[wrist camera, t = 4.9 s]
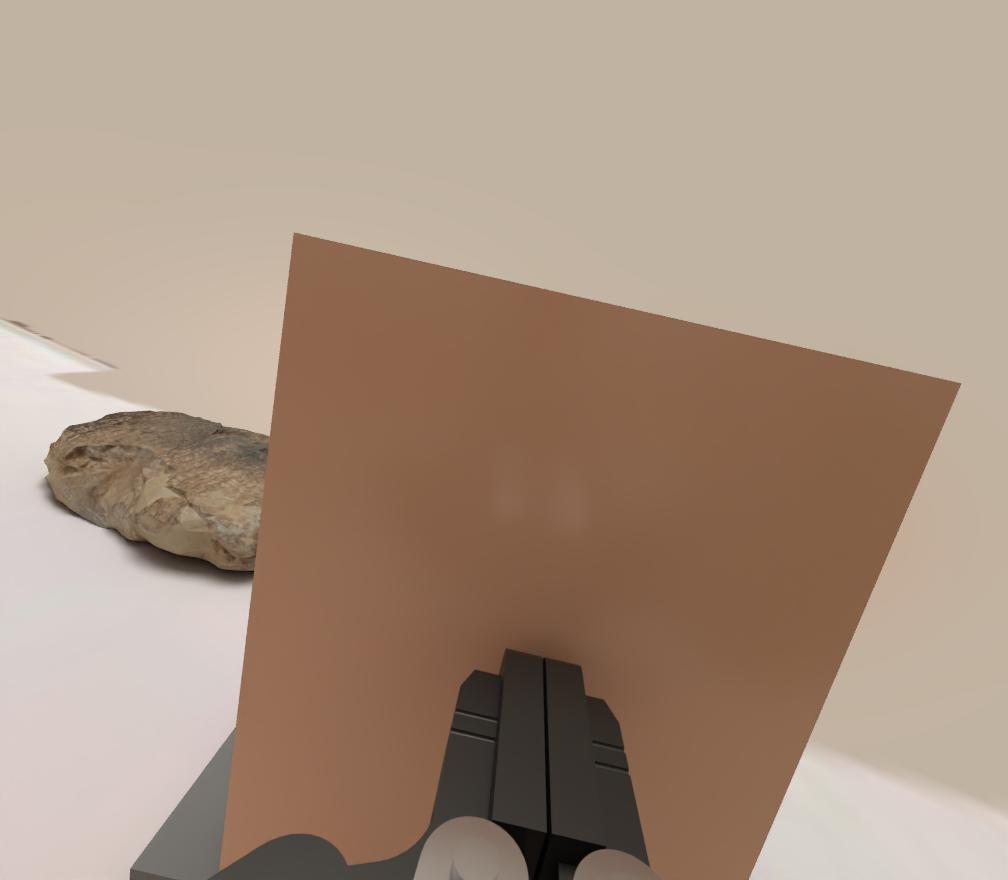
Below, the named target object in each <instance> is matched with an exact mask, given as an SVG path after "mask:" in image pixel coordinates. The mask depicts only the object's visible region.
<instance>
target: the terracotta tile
mask: <svg viewBox="0 0 1008 880" xmlns="http://www.w3.org/2000/svg"><path fill="white" fill-rule="evenodd" d="M960 385H961V383H957V382H952V381H948V380H943V379H939V378H934V377H930V376H926V375H921V374H917V373H913V372H908V371H903V370H899V369H894V368H891V367H885V366H882V365H877V364H873V363H868V362H864V361H860V360H855V359H851V358H846V357H842V356H837V355H833V354H828V353H824V352H820V351H815V350H811V349H807V348H802V347H797V346H793V345H789V344H784V343H780V342H776V341H771V340H767V339H762V338H757V337H753V336H749V335H744V334H740V333H736V332H731V331H726V330H722V329H718V328H714V327H709V326H704V325H700V324H695V323H692V322H687V321H683V320H678V319H674V318H669V317H665V316H661V315H656V314H652V313H647V312H643V311H638V310H634V309H630V308H625V307H621V306H616V305H612V304H608V303H603V302H599V301H594V300H590V299H585V298H581V297H576V296H572V295H567V294H563V293H559V292H554V291H549V290H545V289H541V288H537V287H532V286H528V285H523V284H519V283H515V282H510V281H506V280H501V279H497V278H492V277H488V276H484V275H479V274H474V273H470V272H466V271H461V270H457V269H453V268H448V267H443V266H439V265H435V264H430V263H426V262H422V261H417V260H412V259H409V258H404V257H399V256H395V255H391V254H386V253H382V252H378V251H373V250H369V249H364V248H359V247H355V246H351V245H347V244H342V243H338V242H333V241H329V240H324V239H320V238H316V237H311V236H307V235H302V234H298V233H294V235H293V244H292V252H291V261H290V269H289V278H288V286H287V295H286V304H285V312H284V321H283V329H282V338H281V346H280V356H279V364H278V372H277V380H276V389H275V399H274V406H273V415H272V423H271V432H270V440H269V449H268V457H267V466H266V474H265V483H264V491H263V500H262V508H261V517H260V525H259V534H258V543H257V551H256V560H255V568H254V577H253V585H252V594H251V602H250V611H249V619H248V628H247V636H246V645H245V654H244V662H243V671H242V679H241V688H240V696H239V705H238V713H237V722H236V730H235V739H234V747H233V756H232V765H231V773H230V782H229V790H228V799H227V807H226V816H225V824H224V833H223V841H222V850H221V858H220V867H219V872H220V871H221V870H223V869H224V868H226V867H228V866H229V865H231V864H232V863H234V862H235V861H237V860H239V859H240V858H242V857H243V856H245V855H246V854H248V853H250V852H251V851H253V850H254V849H256V848H257V847H259V846H261V845H263V844H264V843H266V842H268V841H270V840H272V839H275V838H278V837H280V836H285V835H289V834H300V833H302V834H312V835H315V836H318V837H321V838H323V839H325V840H327V841H329V842H330V843H331V844H333V845H334V846H335V847H336V848H337V849H338V850H339V851H340V853H341V854H342V855H343V857H344V859H345V861H346V863H347V865H355V864H363V863H370V862H377V861H382V860H387V859H390V858H392V857H395V856H398V855H399V854H401V853H403V852H405V851H406V850H408V849H409V848H410V847H412V846H413V845H414V844H415V843H416V842H417V841H418V840H419V839H420V838H421V837H422V836H423V834H424V833H425V831H426V830H427V829H428V827H429V824H430V820H431V816H432V811H433V806H434V802H435V797H436V792H437V787H438V783H439V778H440V773H441V768H442V764H443V759H444V754H445V750H446V745H447V741H448V737H449V733H450V728H451V724H452V720H453V715H454V711H455V707H456V702H457V698H458V694H459V690H460V686H461V685H462V683H463V682H464V681H465V680H466V679H467V678H468V677H469V676H470V674H471V673H472V672H473V671H474V670H479V671H484V672H488V673H492V674H496V675H499V671H500V667H501V663H502V659H503V655H504V652H505V649H506V648H507V649H512V650H516V651H520V652H525V653H529V654H533V655H537V656H542V659H543V658H544V657H547V658H551V659H555V660H560V661H564V662H568V663H573V664H577V665H580V666H581V668H582V673H583V680H584V687H585V694H586V695H587V696H591V697H596V698H600V699H604V700H605V702H606V703H607V705H608V706H609V708H610V710H611V711H612V713H613V714H614V716H615V717H616V719H617V720H618V722H619V725H620V729H621V734H622V739H623V743H624V753H626V757H627V762H628V767H629V775H630V776H631V781H632V785H633V790H634V795H635V799H636V804H637V809H638V813H639V818H640V823H641V827H642V832H643V837H644V841H645V846H646V851H647V855H648V860H649V864H650V867H651V869H652V870H653V871H654V872H655V873H656V874H657V875H658V876H659V878H660V879H661V880H749V877H750V875H751V873H752V870H753V868H754V866H755V863H756V861H757V859H758V856H759V854H760V852H761V849H762V847H763V845H764V842H765V840H766V838H767V835H768V833H769V831H770V828H771V826H772V824H773V821H774V819H775V817H776V814H777V812H778V810H779V807H780V805H781V803H782V800H783V798H784V796H785V793H786V791H787V789H788V786H789V784H790V782H791V779H792V777H793V775H794V772H795V770H796V768H797V765H798V763H799V761H800V758H801V756H802V754H803V751H804V749H805V747H806V744H807V742H808V740H809V737H810V735H811V733H812V730H813V728H814V725H815V723H816V721H817V719H818V717H819V714H820V712H821V710H822V707H823V705H824V703H825V700H826V698H827V696H828V693H829V691H830V688H831V686H832V684H833V681H834V679H835V677H836V675H837V672H838V670H839V668H840V665H841V663H842V661H843V658H844V656H845V653H846V651H847V649H848V647H849V644H850V641H851V640H852V637H853V635H854V633H855V630H856V628H857V625H858V623H859V621H860V619H861V616H862V614H863V612H864V609H865V607H866V604H867V602H868V600H869V598H870V595H871V593H872V591H873V588H874V586H875V584H876V581H877V579H878V577H879V574H880V572H881V570H882V567H883V565H884V563H885V560H886V558H887V556H888V553H889V551H890V548H891V546H892V544H893V542H894V539H895V537H896V535H897V532H898V530H899V527H900V525H901V523H902V521H903V518H904V516H905V513H906V511H907V509H908V507H909V504H910V502H911V500H912V497H913V495H914V492H915V490H916V488H917V485H918V483H919V481H920V479H921V476H922V474H923V471H924V469H925V467H926V465H927V462H928V460H929V458H930V455H931V453H932V451H933V448H934V446H935V444H936V441H937V439H938V437H939V434H940V432H941V430H942V427H943V425H944V423H945V420H946V418H947V416H948V413H949V411H950V409H951V406H952V404H953V402H954V399H955V397H956V395H957V392H958V390H959V388H960Z"/></svg>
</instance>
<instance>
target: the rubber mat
mask: <svg viewBox="0 0 1008 880" xmlns="http://www.w3.org/2000/svg"><path fill="white" fill-rule="evenodd" d="M235 730H236V727H235V729H234V730H233V732H232V733H231V734H230V736H229V737H228V738H227V740H226V741H225V742H224V744H223V745H222V746H221V748H220V749H219V750H218V752H217V753H216V754H215V756H214V757H213V758H212V760H211V761H210V762H209V764H208V765H207V766H206V768H205V769H204V770H203V772H202V773H201V774H200V776H199V777H198V779H197V780H196V781H195V783H194V784H193V785H192V787H191V788H190V789H189V791H188V792H187V793H186V795H185V796H184V797H183V799H182V800H181V801H180V803H179V804H178V805H177V807H176V808H175V809H174V811H173V812H172V813H171V815H170V816H169V817H168V819H167V820H166V822H165V823H164V824H163V826H162V827H161V828H160V830H159V831H158V832H157V834H156V835H155V836H154V838H153V839H152V840H151V842H150V843H149V844H148V846H147V847H146V848H145V850H144V851H143V852H142V854H141V855H140V856H139V858H138V859H137V860H136V862H135V863H134V864H133V866H132V867H131V869H130V880H207V879H209V878H210V877H212V876H213V875H215V874H217V873H218V872H219V867H220V858H221V850H222V841H223V833H224V824H225V816H226V807H227V799H228V790H229V782H230V773H231V765H232V756H233V747H234V739H235Z"/></svg>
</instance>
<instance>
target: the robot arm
mask: <svg viewBox="0 0 1008 880" xmlns="http://www.w3.org/2000/svg"><path fill="white" fill-rule="evenodd" d="M207 880H661V879H660V878H659V876H658V875H657V874H656V873H655V872H654V871H653V870H652V869H651V867H650V864H649V860H648V855H647V851H646V846H645V841H644V837H643V832H642V827H641V823H640V818H639V813H638V809H637V804H636V799H635V795H634V790H633V785H632V781H631V776H630V775H629V767H628V762H627V757H626V753H624V743H623V739H622V734H621V729H620V725H619V722H618V720H617V719H616V717H615V716H614V714H613V713H612V711H611V710H610V708H609V706H608V705H607V703H606V702H605V700H604V699H600V698H596V697H591V696H587V695H586V694H585V687H584V680H583V673H582V668H581V666H580V665H577V664H573V663H568V662H564V661H560V660H555V659H551V658H547V657H544V658H543V659H542V656H537V655H533V654H529V653H525V652H520V651H516V650H512V649H507V648H506V649H505V652H504V655H503V659H502V663H501V667H500V671H499V675H496V674H492V673H488V672H484V671H479V670H474V671H473V672H472V673H471V674H470V676H469V677H468V678H467V679H466V680H465V681H464V682H463V683H462V685H461V686H460V690H459V694H458V698H457V702H456V707H455V711H454V715H453V720H452V724H451V728H450V733H449V737H448V741H447V745H446V750H445V754H444V759H443V764H442V768H441V773H440V778H439V783H438V787H437V792H436V797H435V802H434V806H433V811H432V816H431V820H430V824H429V827H428V829H427V830H426V831H425V833H424V834H423V836H422V837H421V838H420V839H419V840H418V841H417V842H416V843H415V844H414V845H413V846H412V847H410V848H409V849H408V850H406V851H405V852H403V853H401V854H399V855H398V856H395V857H392V858H390V859H387V860H382V861H377V862H370V863H363V864H355V865H347V863H346V861H345V859H344V857H343V855H342V854H341V853H340V851H339V850H338V849H337V848H336V847H335V846H334V845H333V844H331V843H330V842H329V841H327V840H325V839H323V838H321V837H318V836H315V835H312V834H302V833H300V834H289V835H285V836H280V837H278V838H275V839H272V840H270V841H268V842H266V843H264V844H263V845H261V846H259V847H257V848H256V849H254V850H253V851H251V852H250V853H248V854H246V855H245V856H243V857H242V858H240V859H239V860H237V861H235V862H234V863H232V864H231V865H229V866H228V867H226V868H224V869H223V870H221V871H220V872H218V873H217V874H215V875H213V876H212V877H210V878H209V879H207Z"/></svg>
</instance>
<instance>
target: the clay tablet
mask: <svg viewBox="0 0 1008 880" xmlns="http://www.w3.org/2000/svg"><path fill="white" fill-rule="evenodd" d="M269 440H270V437H269V436H266V435H263V434H258V433H254V432H251V431H248V430H244V429H237V428H231V427H223V426H222V425H221V423H215V422H211V421H208V420H204V419H202V418H200V417H192V416H189V415H186V414H184V413H178V412H162V411H160V412H154V411H137V412H119V413H114V414H109V415H106V416H104V417H103V418H101V419H99V420H96V421H92V422H88V423H83V424H78V425H72V426H69V427H67V428H66V429H65V430H64V431H63V433H62V435H61V436H60V438H59V439H58V440H57V441H56V442H54V443H51V445H50V450H49V453H48V455H47V458H46V459H45V460H44V462H45V464H46V465H47V467H48V471H49V474H48V475H47V477H46V479H47V480H48V482H49V483H50V484H51V487H52V490H53V493H54V495H55V498H56V500H58V501H60V502H61V503H63V504H65V505H66V506H67V507H68V508H69V509H71V510H72V511H74V512H76V513H77V514H79V515H80V516H82V517H84V518H85V519H87V520H89V521H91V522H93V523H95V524H96V525H97V526H99V527H102V528H112V529H117V530H118V531H119V532H120V533H121V534H122V535H123V536H124V537H126V538H127V539H129V540H133V541H140V542H150V543H152V544H153V545H154V546H156V547H159V548H161V549H164V550H167V551H169V552H172V553H175V554H177V555H184V556H191V557H197V558H201V559H203V560H206V561H209V562H211V563H212V564H214V565H216V566H217V567H218V568H220V569H227V570H247V571H253V570H254V568H255V560H256V551H257V543H258V534H259V525H260V517H261V508H262V500H263V491H264V483H265V474H266V466H267V457H268V449H269Z"/></svg>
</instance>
